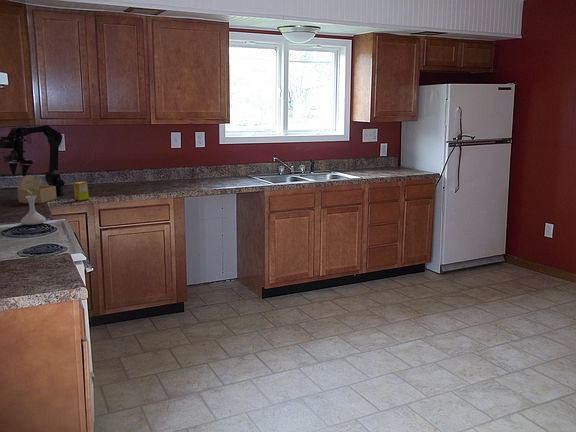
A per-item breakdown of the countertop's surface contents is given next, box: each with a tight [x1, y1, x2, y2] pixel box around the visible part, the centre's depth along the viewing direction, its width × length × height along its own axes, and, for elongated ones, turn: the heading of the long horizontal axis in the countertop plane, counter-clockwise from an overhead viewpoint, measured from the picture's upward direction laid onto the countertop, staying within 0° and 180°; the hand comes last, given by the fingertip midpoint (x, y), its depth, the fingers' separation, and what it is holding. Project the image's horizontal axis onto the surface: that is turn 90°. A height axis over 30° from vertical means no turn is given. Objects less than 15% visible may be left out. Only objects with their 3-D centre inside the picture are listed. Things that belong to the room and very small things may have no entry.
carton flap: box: [17, 176, 42, 189], centre depth 331 cm, size 7×14×1 cm
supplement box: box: [73, 181, 90, 202], centre depth 338 cm, size 6×6×11 cm
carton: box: [16, 184, 58, 205], centre depth 338 cm, size 15×16×8 cm
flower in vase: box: [20, 174, 46, 226], centre depth 276 cm, size 13×11×25 cm
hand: (18, 175), depth 330 cm, fingers open, 9 cm apart
